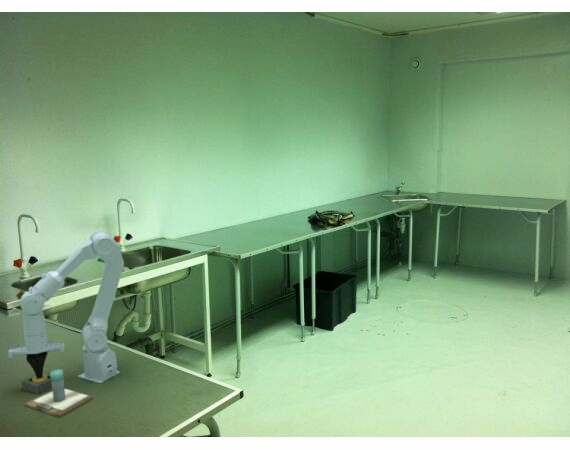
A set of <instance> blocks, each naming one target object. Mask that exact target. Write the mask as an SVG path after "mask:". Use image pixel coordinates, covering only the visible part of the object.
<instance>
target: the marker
mask: <svg viewBox="0 0 570 450" xmlns="http://www.w3.org/2000/svg"><path fill="white" fill-rule="evenodd" d="M50 376H51V382H52V388H51V390H52V391H53V400H54V402H60V401H63V400H65V390H64V388H65V383H64V382H65V381H64V370H63V369H59V368H58V369H55V370H51V372H50Z"/></svg>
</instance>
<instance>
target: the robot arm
mask: <svg viewBox="0 0 570 450" xmlns="http://www.w3.org/2000/svg"><path fill="white" fill-rule="evenodd" d="M96 255H98V256H99V258H101V259H102V260H103V262H104V263H105V268H104V271H103V275H102V279H101V281H100V284H99V285H100V286H99V288H98V292H97V295H96V299H95V303H94V305H93V309H92V310H91V311H92V312H91V314H90V316H89V317H88V320H87V321H86V323H85V325H83V327H82V329H81V332H80V333H81V337H82V339H83V341H84V344H83V346H82V359H83V360H82V361H83V370H84V371H83V372H82V373H80V374H79V375H77V376H78V379H82V380H86V381H90V382H93V383H97V384H102V383H104V382H105V381H108V380H109V379H111V378H113V377H114V376H117V375H118V374H120V371H119V370H118V364H117V354H116V352H115V351H114V350H112V349H111V348H109V346H108V336H107V331H108V324H109V323H108V320H109V316H110V313H111V310H112V306H113V305H114V304H113V303H114V300H115V296H116V293H117V289H118V286H119V284H120V283H119V282H120V279H121V277H122V272H123V269H124V265H125V262H124V258H123V255H122V252H121V249H120V245H119V244H118V242H117V241H116V240H115V239H114V238H113V237H112V236H110V235H109V233H108V232H106V231H104V230H98V231H95V232H94V233H92V234H91V235H90V237H88V238H87V239H85V240H84V241H83V242H82V243H81V244H80V245H79V246H78V247H77V248H76V249H75V250H74V251H73V252H72V254H71V255H69V256H68V258H66V259H65V261H64V262H63V263H62V264H61V265H60V266H59V267H58V268H57V269H56V270H51V271H48V272H47V273H45V272H44V273H42V275H41V278H40V280H39V281H37V282H36V283H35V284H34V285H33V286H30V287H28V291H26V292H24V293H23V294H22V295H21V298H20V301H19V303H20V308H21V311H22V315H21V316H22V327H23V328H22V329H23V334H24V335H23V337H24V345H25V346H20V347H16V348H10V349H9V350H8V351H7V353H8V359H13V358H15V357H21V356H22V357H23V356H26V362H27V363H28V364H29V366H30V367H31V368H32V370H33V372H34V375H36V378H37V379H39V378H42V376H43V372H44V367H45V362H46V359H47V356H48V353H53V352H60V353H62V352H64V351H65V343H64V342H57V343H56V342H51V343H50V342H48V335H47V328H46V327H47V326H46V319H45V318H46V317H45V314H44V309H45V308H44V307H45V303H46V302H48V301H50V300H51V299H52V298H53V297H54V296H55V295H56V294H57V293H58V292H59V291H60V290H61V289H62V287H64V286H65V279H66V278H67V277H68V276H69V275H70V274H72V273H73V272H74V271H75V269H77V268H78V267H79V266H80V265H81V264H83V263H84V261H86V260H92V259H97V256H96Z"/></svg>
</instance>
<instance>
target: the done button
mask: <svg viewBox="0 0 570 450" xmlns="http://www.w3.org/2000/svg"><path fill="white" fill-rule="evenodd" d="M47 379H48V378H47V375H46V374H43V376H42V378H39V379H37V378H36V376H34V377H33V378H32V381H33V382H35V383H40V382H43V381H45V380H47Z"/></svg>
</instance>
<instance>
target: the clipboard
mask: <svg viewBox="0 0 570 450" xmlns="http://www.w3.org/2000/svg"><path fill="white" fill-rule="evenodd" d="M64 390H65V400H63V401H60V402H54V400H53V391H52V389H49V391H47V392H45V393H44V392H43V394H42V393H41V394H39V396H36V397H34V398H33V399H31V400H29V401H27V402H25V403H24V406H25V407H26V408H30V409H33V410H36V411H39V412H42V413H45V414H48V415H50V416H54V417H56V418H62V417H64V416H66V415H68V414H69V413H71V412H73V411H75V410H76V409H78V408H80V407H82V406H84V405H85V404H88V402H90V401H92V400H94V396H93V395H90V394H87V393H84V392H83V393H82V392H80V391H79V392H78V391H76V390H72V389H69V388H66V387H64Z"/></svg>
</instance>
